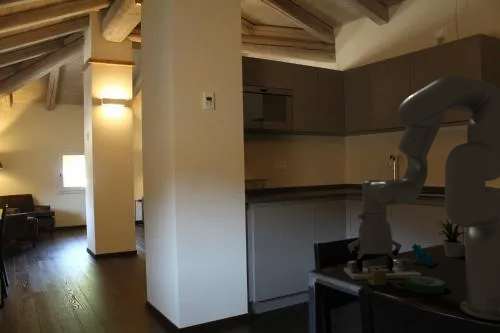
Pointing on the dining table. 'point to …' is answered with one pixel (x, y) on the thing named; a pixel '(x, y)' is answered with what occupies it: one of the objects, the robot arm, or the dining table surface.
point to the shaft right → (403, 264)
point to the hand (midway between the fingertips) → (374, 270)
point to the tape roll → (424, 285)
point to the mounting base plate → (389, 274)
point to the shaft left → (353, 268)
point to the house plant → (451, 240)
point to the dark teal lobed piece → (422, 255)
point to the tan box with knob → (376, 275)
